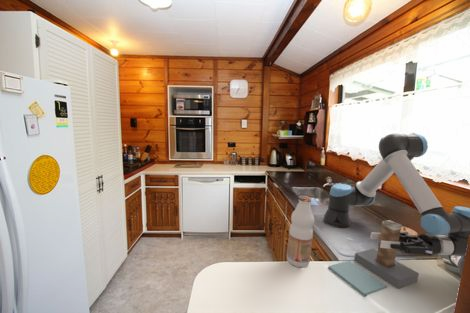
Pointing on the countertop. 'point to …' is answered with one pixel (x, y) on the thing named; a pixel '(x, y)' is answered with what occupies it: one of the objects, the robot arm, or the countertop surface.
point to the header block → (387, 269)
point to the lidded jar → (409, 231)
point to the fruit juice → (301, 234)
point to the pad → (357, 277)
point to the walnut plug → (388, 233)
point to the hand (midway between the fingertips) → (376, 239)
